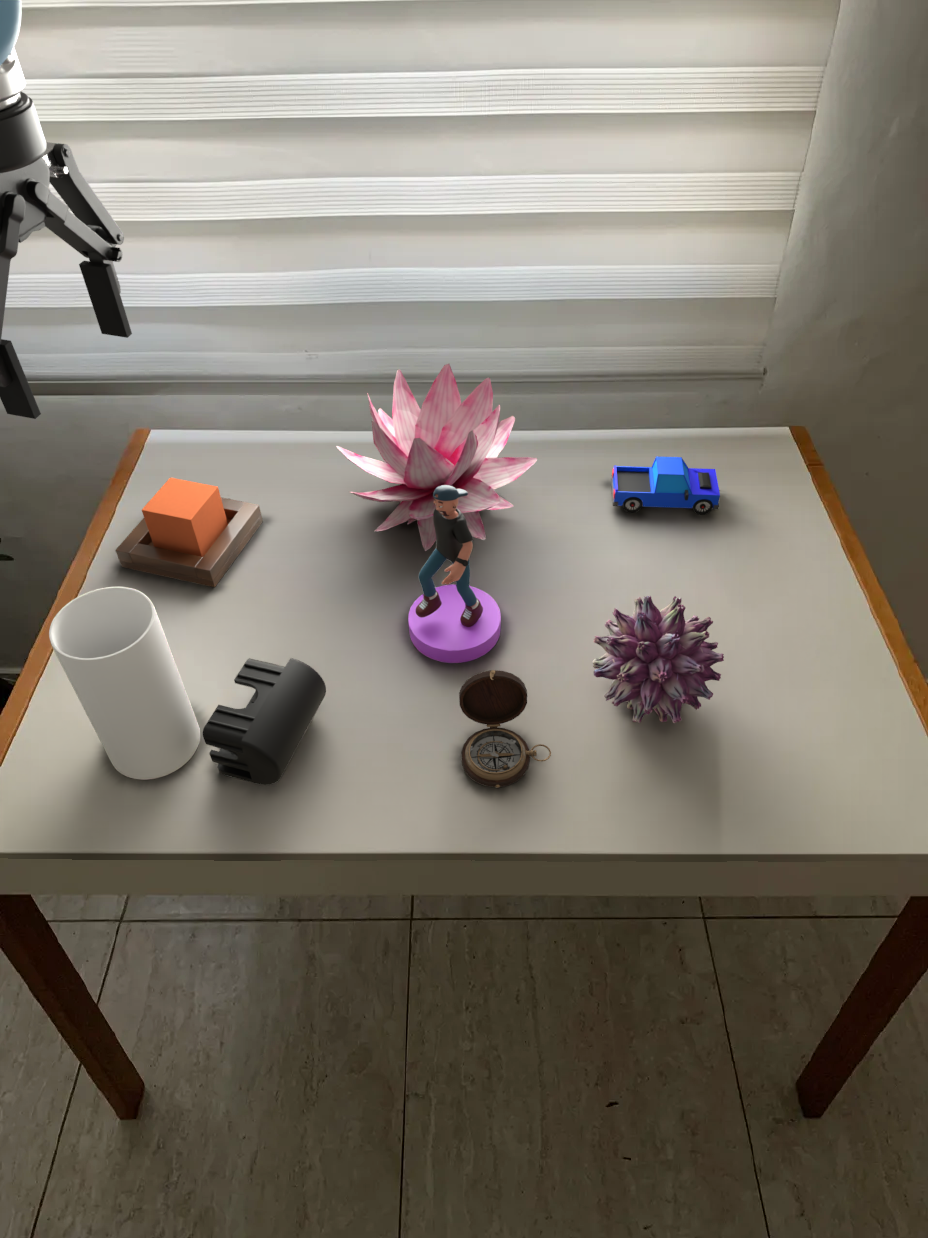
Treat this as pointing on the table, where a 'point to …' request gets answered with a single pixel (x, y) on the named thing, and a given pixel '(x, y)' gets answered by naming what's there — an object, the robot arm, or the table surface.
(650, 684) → the flower
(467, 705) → the compass
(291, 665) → the end cap
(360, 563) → the table surface
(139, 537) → the brown wooden tray
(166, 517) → the orange cube
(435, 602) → the figurine
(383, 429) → the decorative flower
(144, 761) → the cup
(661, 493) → the toy car
